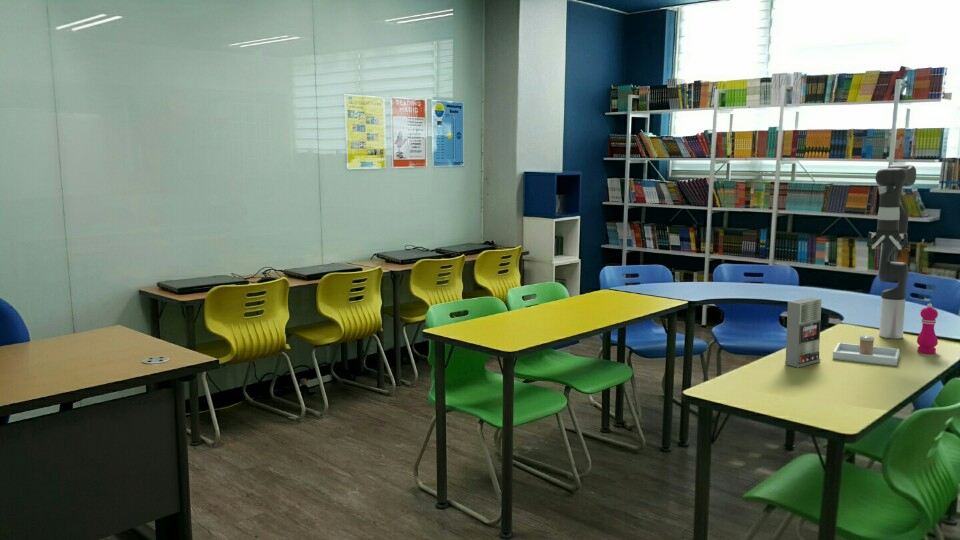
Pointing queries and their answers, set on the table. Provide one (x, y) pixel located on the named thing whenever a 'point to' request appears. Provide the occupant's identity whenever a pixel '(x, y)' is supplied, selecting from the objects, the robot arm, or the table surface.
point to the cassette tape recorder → (803, 332)
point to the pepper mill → (928, 331)
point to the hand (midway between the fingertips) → (886, 258)
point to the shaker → (866, 345)
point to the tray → (879, 355)
